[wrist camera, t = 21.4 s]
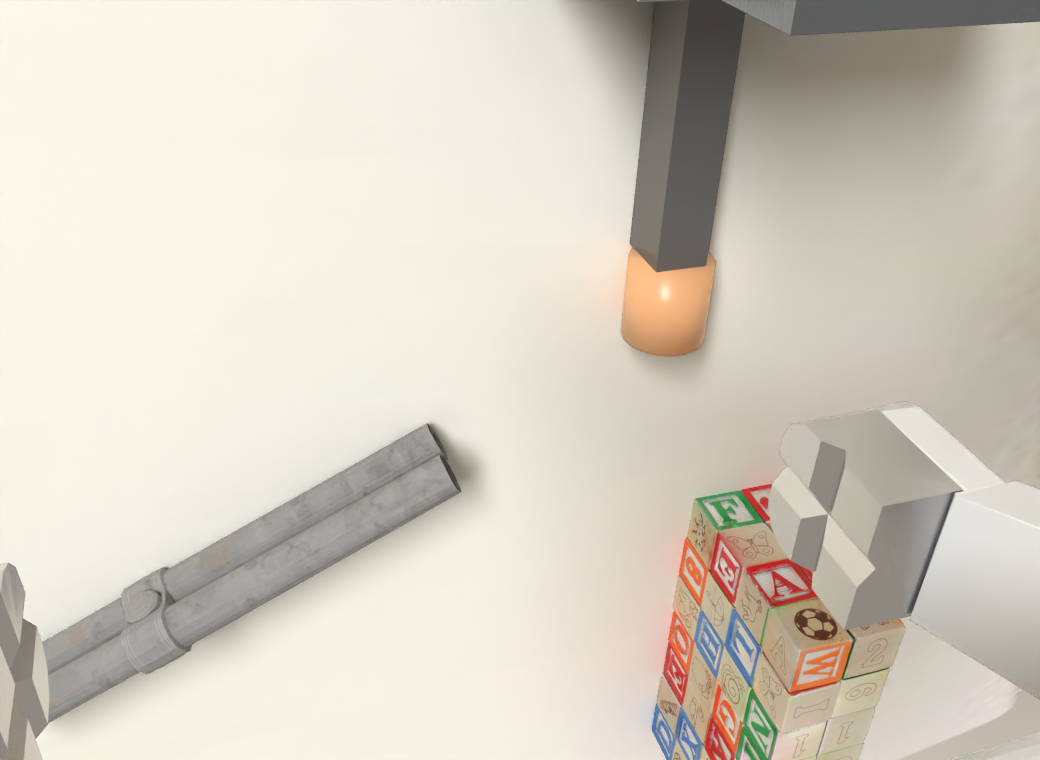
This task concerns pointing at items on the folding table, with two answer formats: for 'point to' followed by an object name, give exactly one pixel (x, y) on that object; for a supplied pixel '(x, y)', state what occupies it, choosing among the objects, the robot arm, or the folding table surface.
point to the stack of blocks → (761, 649)
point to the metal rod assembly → (246, 569)
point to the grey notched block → (883, 14)
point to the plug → (679, 174)
